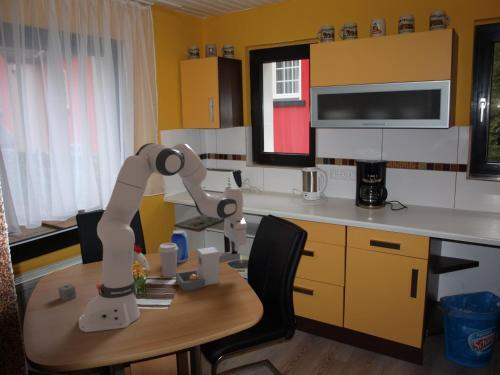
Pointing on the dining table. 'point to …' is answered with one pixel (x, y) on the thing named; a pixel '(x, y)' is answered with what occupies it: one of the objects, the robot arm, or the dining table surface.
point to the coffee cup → (168, 259)
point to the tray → (189, 285)
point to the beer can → (180, 244)
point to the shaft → (228, 255)
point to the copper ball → (193, 277)
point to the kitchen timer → (140, 258)
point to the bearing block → (209, 265)
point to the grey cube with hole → (67, 292)
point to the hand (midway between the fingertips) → (234, 249)
